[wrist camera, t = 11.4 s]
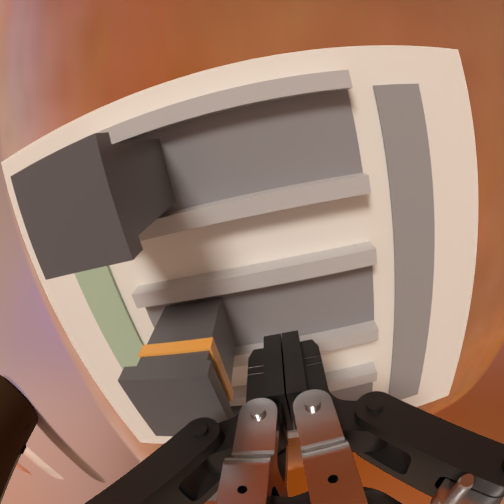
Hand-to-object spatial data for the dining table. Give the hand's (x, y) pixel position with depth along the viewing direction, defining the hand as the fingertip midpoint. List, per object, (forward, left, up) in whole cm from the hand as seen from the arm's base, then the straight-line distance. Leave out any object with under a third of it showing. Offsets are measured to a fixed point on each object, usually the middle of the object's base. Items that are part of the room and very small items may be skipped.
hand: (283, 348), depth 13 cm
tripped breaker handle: (+4, 0, -3) cm, 5 cm away
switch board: (+1, 0, -5) cm, 5 cm away
